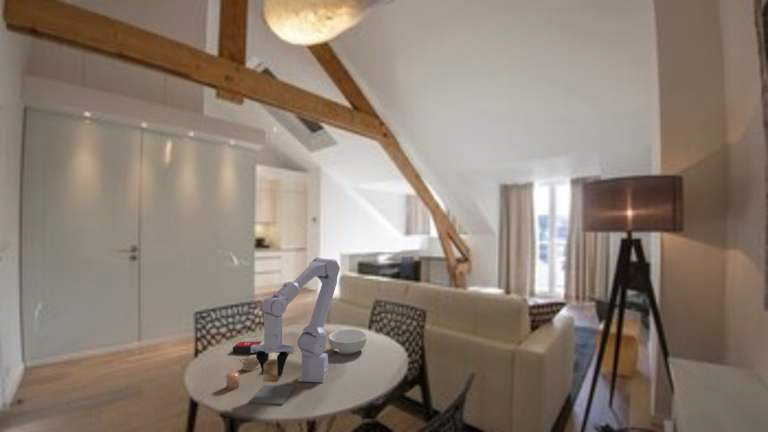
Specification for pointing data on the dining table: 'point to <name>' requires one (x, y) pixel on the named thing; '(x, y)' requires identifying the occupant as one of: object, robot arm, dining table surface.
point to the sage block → (273, 357)
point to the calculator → (247, 345)
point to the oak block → (271, 371)
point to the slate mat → (272, 395)
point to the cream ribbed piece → (250, 363)
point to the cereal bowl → (348, 341)
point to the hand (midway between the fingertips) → (272, 374)
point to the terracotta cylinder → (232, 381)
